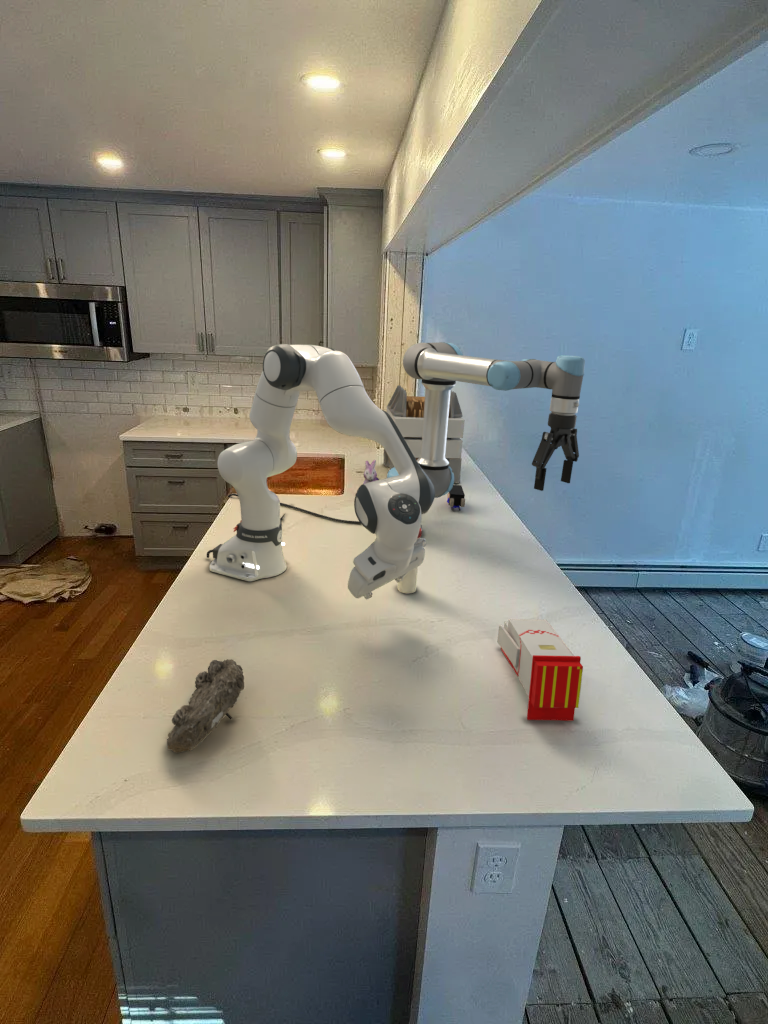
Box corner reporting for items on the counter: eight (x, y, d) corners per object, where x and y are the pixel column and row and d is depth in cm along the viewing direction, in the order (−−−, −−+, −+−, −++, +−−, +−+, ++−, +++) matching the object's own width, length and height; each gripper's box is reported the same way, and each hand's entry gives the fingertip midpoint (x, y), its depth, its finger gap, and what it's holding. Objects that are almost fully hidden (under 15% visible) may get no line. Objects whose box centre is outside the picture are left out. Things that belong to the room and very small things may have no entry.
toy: (543, 604, 136) (592, 662, 106) (538, 656, 138) (584, 727, 109) (493, 603, 135) (528, 661, 106) (489, 655, 138) (522, 726, 109)
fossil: (192, 660, 117) (244, 628, 112) (224, 691, 120) (276, 661, 115) (142, 746, 98) (202, 712, 93) (182, 779, 101) (242, 748, 96)
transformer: (382, 463, 289) (386, 382, 275) (445, 464, 293) (451, 384, 279) (390, 482, 257) (394, 392, 243) (460, 483, 261) (468, 394, 247)
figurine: (366, 499, 233) (368, 464, 228) (356, 492, 241) (357, 458, 236) (387, 497, 237) (388, 462, 232) (376, 490, 246) (377, 456, 241)
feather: (292, 507, 224) (294, 503, 223) (275, 531, 197) (278, 527, 197) (288, 505, 224) (291, 501, 223) (271, 528, 197) (273, 524, 197)
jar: (406, 583, 164) (410, 525, 158) (419, 589, 161) (424, 531, 155) (393, 588, 161) (396, 529, 155) (407, 595, 157) (410, 535, 151)
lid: (409, 529, 159) (410, 523, 159) (426, 535, 155) (426, 529, 155) (394, 534, 155) (394, 528, 155) (410, 541, 151) (410, 534, 151)
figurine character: (465, 515, 224) (460, 499, 237) (467, 498, 221) (462, 483, 234) (448, 515, 224) (444, 499, 237) (450, 498, 220) (445, 482, 234)
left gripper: (418, 526, 134) (408, 561, 144) (347, 561, 124) (341, 596, 134) (435, 544, 131) (423, 579, 141) (363, 582, 121) (356, 616, 131)
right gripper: (548, 419, 148) (537, 496, 155) (598, 411, 163) (586, 482, 171) (525, 414, 153) (515, 489, 160) (575, 407, 169) (564, 476, 176)
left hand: (382, 588), depth 137 cm, fingers open, 8 cm apart
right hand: (552, 485), depth 166 cm, fingers open, 13 cm apart
